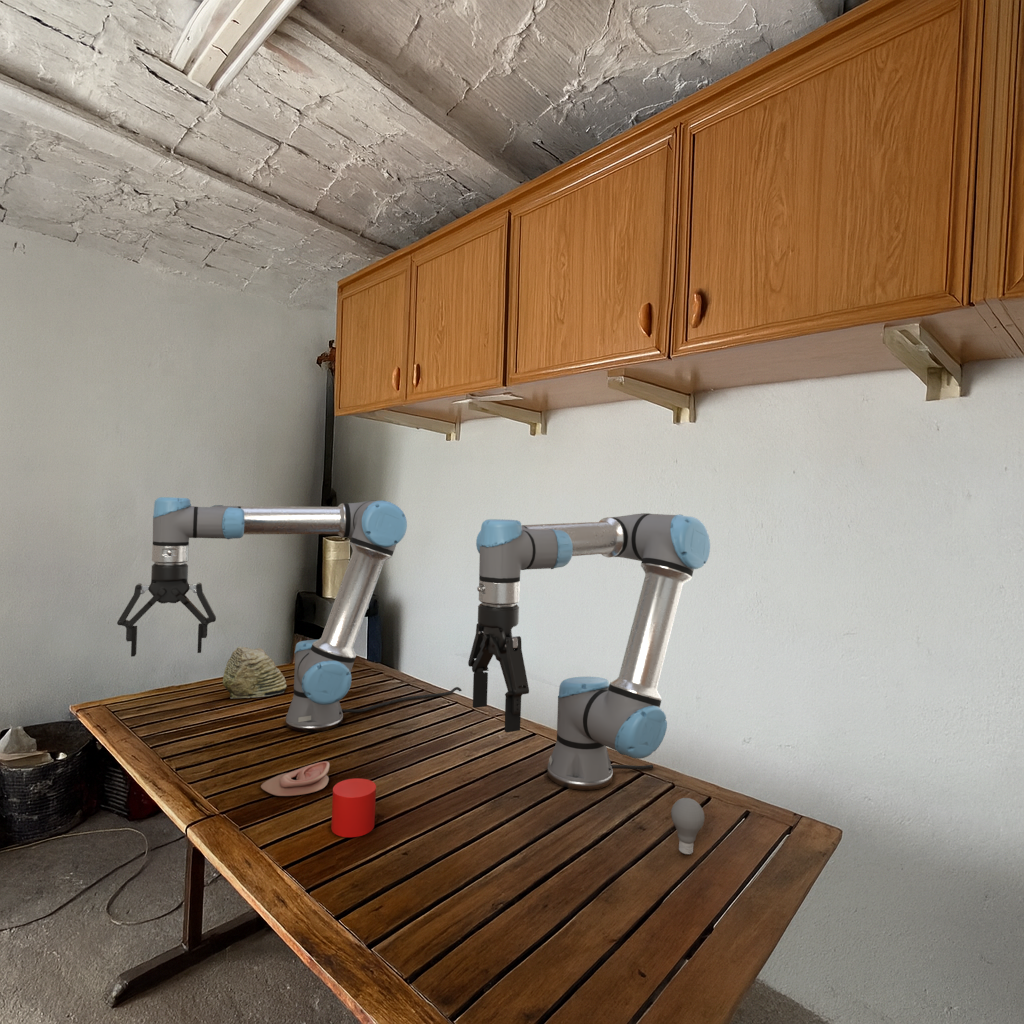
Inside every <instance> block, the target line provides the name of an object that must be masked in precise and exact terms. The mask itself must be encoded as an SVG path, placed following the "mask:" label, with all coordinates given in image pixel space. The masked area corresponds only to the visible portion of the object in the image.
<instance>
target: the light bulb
mask: <svg viewBox="0 0 1024 1024" xmlns="http://www.w3.org/2000/svg"><path fill="white" fill-rule="evenodd" d="M670 816H671V821H672V823H673V825H674V827H675V829H676V833H677V838H678V843H679V844H678V850H679V852H680V853H682V854H684V855H692V854H693V853H694V844H695V843H694V842H695V841H696V838H697V835H698V834H699V832H700V830H701V829H702V827H703V826H704V823H705V818H706V817H705V812H704V809H703V807H702V806H701V805H700V803H699V802H697V800H695V799H693V798H690V797H682V798H680V799H677V800H676V801H675V803H674V804H673V805H672V807H671V810H670Z"/></svg>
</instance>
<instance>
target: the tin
mask: <svg viewBox="0 0 1024 1024" xmlns="http://www.w3.org/2000/svg"><path fill="white" fill-rule="evenodd" d="M376 796H377V785H376V783H375V782H374V781H373V780H370V779H367V778H361V777H360V778H357V777H356V778H348V779H344V780H342V781H339V782H337V783H336V784H335V785H334V786H333V787H332V797H331V798H332V800H331V801H332V803H331V804H332V805H331V825H330V827H331V832H332V833H333V834H334V835H336V836H339V837H342V838H358V837H362V836H365V835H367V834H369V833H371V832H372V831H373V830H374V828H375V823H376V822H375V821H376V818H375V817H376V801H377V800H376V799H377V797H376Z"/></svg>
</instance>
